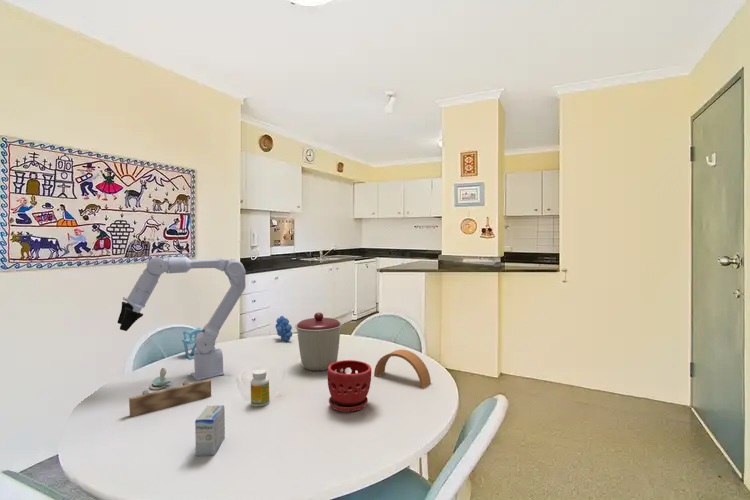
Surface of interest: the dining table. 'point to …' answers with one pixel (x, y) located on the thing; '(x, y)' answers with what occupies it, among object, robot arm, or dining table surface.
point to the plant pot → (349, 385)
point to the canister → (318, 341)
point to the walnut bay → (169, 397)
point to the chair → (190, 341)
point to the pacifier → (160, 381)
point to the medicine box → (210, 430)
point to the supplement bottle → (259, 388)
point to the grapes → (283, 328)
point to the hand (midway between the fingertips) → (121, 326)
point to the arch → (410, 358)
